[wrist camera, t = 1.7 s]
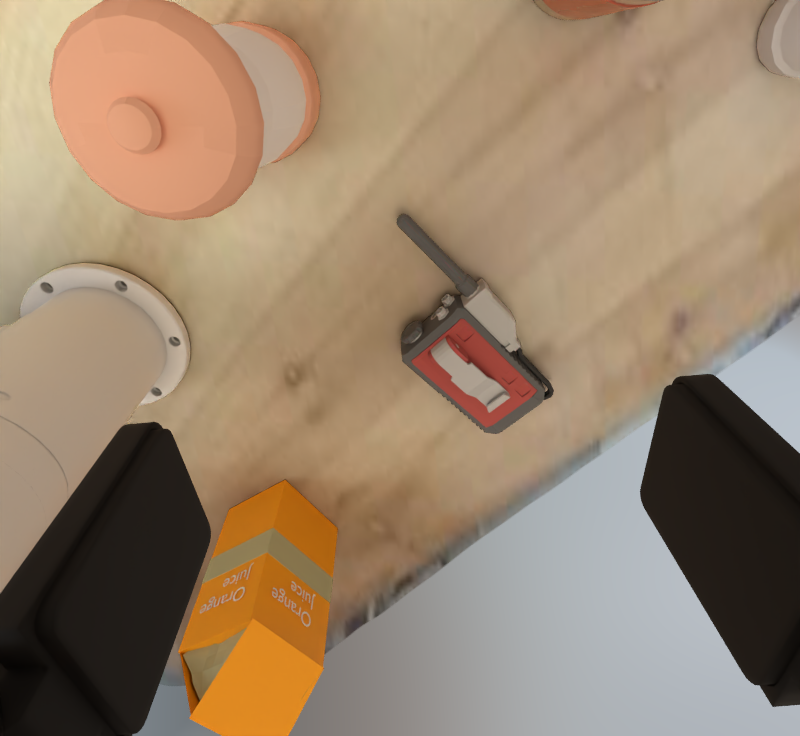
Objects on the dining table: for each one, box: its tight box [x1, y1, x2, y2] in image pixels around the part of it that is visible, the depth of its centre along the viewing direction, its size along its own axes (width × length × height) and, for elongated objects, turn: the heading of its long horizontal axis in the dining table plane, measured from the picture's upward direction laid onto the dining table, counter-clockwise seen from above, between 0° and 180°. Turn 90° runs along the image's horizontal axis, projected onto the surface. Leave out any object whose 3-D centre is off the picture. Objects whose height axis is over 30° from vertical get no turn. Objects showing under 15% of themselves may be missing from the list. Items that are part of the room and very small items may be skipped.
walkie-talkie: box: [397, 214, 554, 434], centre depth 39 cm, size 9×4×20 cm
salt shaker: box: [49, 0, 321, 220], centre depth 23 cm, size 7×7×19 cm
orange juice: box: [178, 480, 338, 736], centre depth 43 cm, size 8×9×20 cm
